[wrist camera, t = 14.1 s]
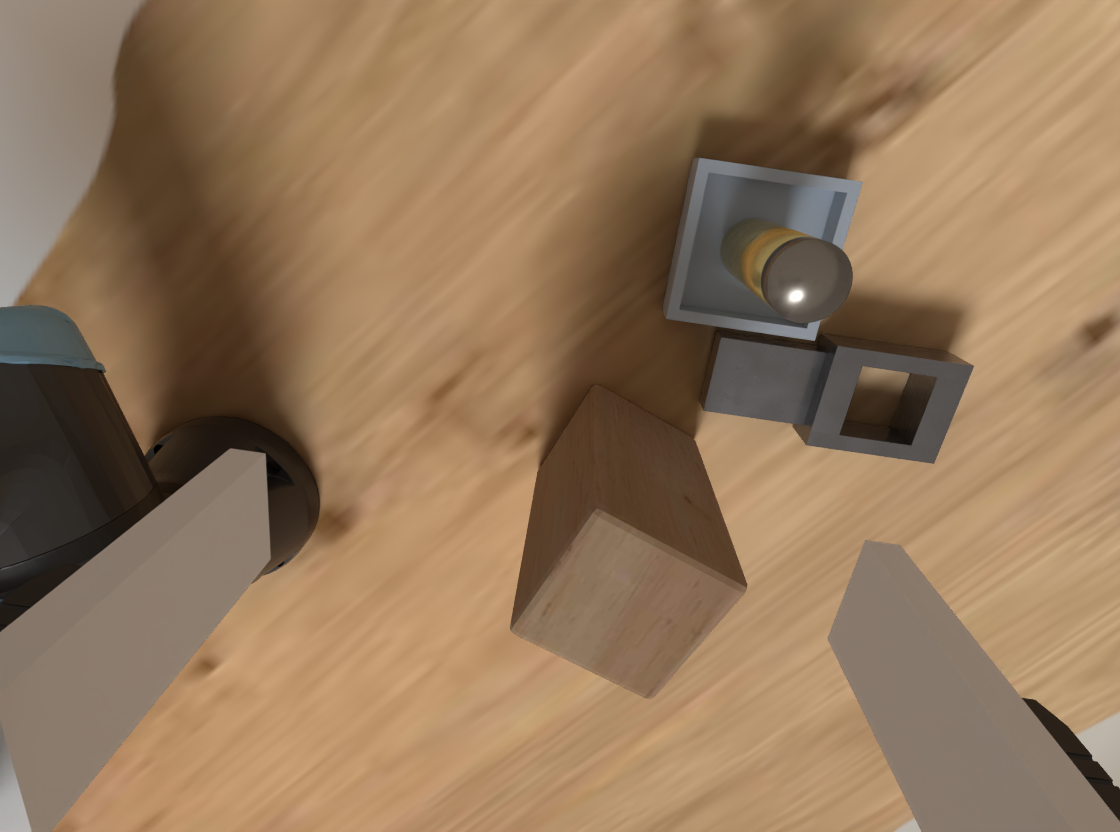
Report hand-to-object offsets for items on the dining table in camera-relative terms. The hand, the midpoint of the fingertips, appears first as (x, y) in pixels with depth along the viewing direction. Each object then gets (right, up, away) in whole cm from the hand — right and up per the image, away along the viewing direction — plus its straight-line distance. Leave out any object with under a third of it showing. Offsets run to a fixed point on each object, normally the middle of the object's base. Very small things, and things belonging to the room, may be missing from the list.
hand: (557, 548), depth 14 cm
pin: (+14, +15, +32) cm, 38 cm away
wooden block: (+5, 0, +40) cm, 40 cm away
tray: (+14, +15, +33) cm, 39 cm away
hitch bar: (+21, +6, +36) cm, 42 cm away
